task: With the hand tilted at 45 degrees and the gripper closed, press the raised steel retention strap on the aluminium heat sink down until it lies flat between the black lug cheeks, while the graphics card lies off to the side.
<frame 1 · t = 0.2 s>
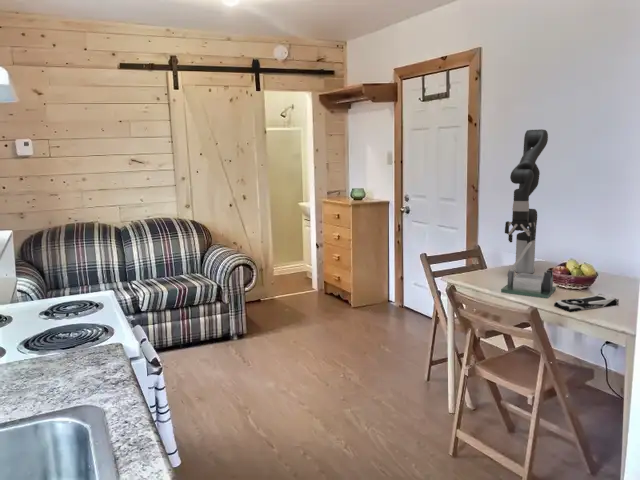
hand: (519, 242, 268), 18 cm above the table, tool pointing down, fingers open, 8 cm apart
graphics card: (584, 307, 224), on the table
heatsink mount: (528, 291, 247), on the table
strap: (520, 257, 246), point 15 cm above the table, hinge at 60.0°
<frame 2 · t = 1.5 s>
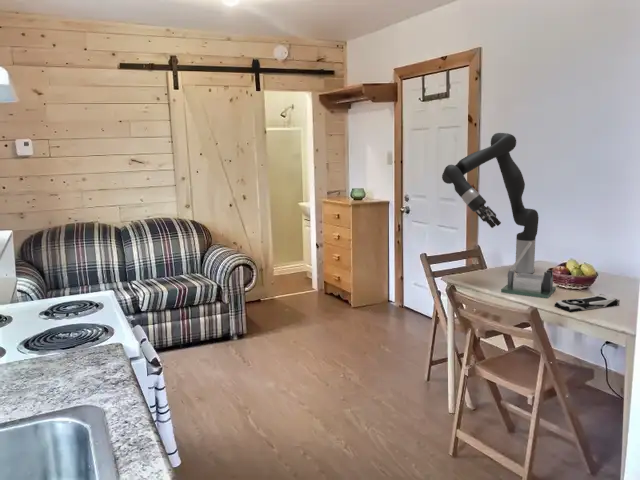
hand: (496, 225, 250), 29 cm above the table, tool tilted 45°, fingers open, 8 cm apart
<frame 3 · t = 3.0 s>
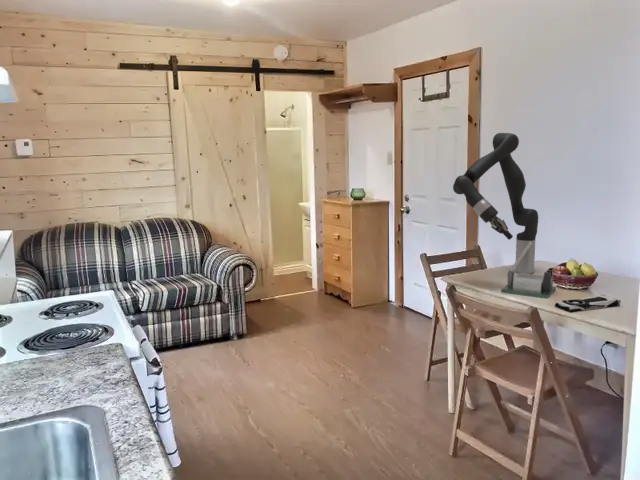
hand: (511, 238, 247), 24 cm above the table, tool tilted 45°, fingers closed
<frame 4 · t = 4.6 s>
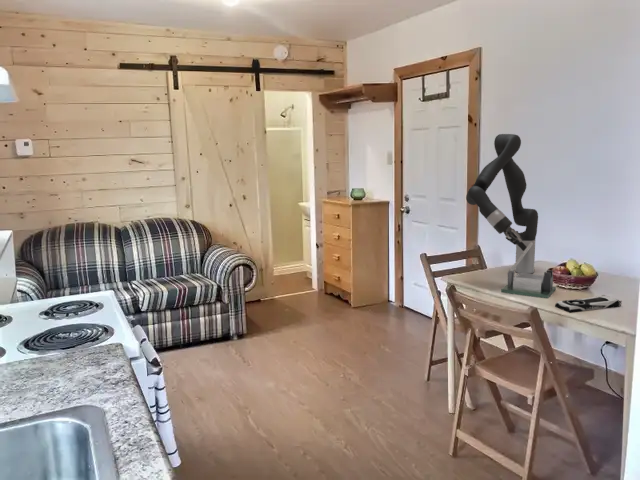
hand: (525, 249, 244), 19 cm above the table, tool tilted 45°, fingers closed
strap: (520, 258, 246), point 15 cm above the table, hinge at 58.2°, touching gripper
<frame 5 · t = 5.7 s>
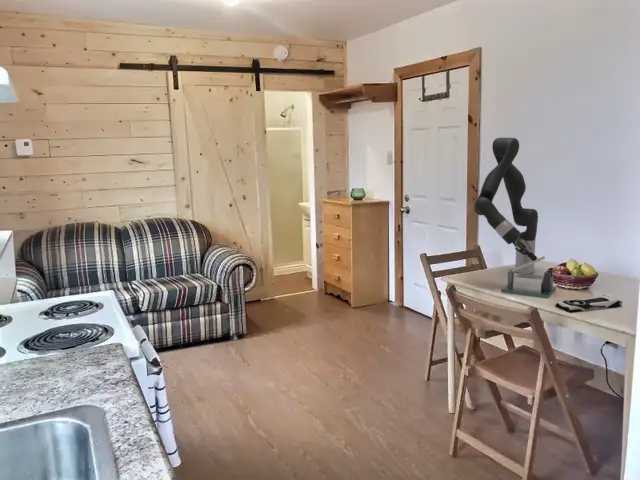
hand: (535, 259, 243), 15 cm above the table, tool tilted 45°, fingers closed
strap: (526, 264, 245), point 12 cm above the table, hinge at 28.7°, touching gripper
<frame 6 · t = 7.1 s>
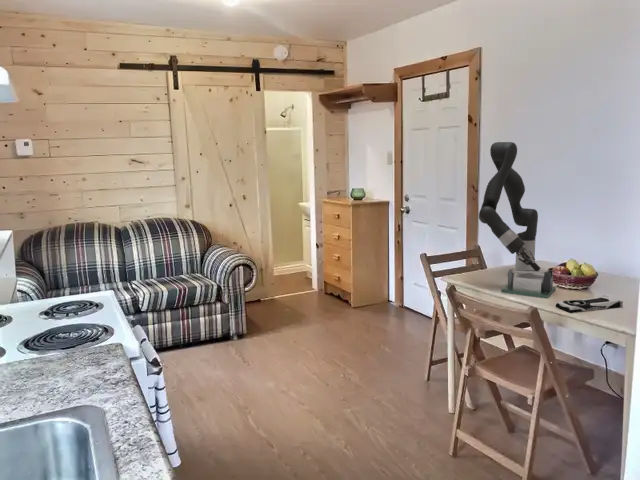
hand: (538, 270, 243), 10 cm above the table, tool tilted 45°, fingers closed
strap: (528, 271, 245), point 9 cm above the table, hinge at 4.5°, touching gripper
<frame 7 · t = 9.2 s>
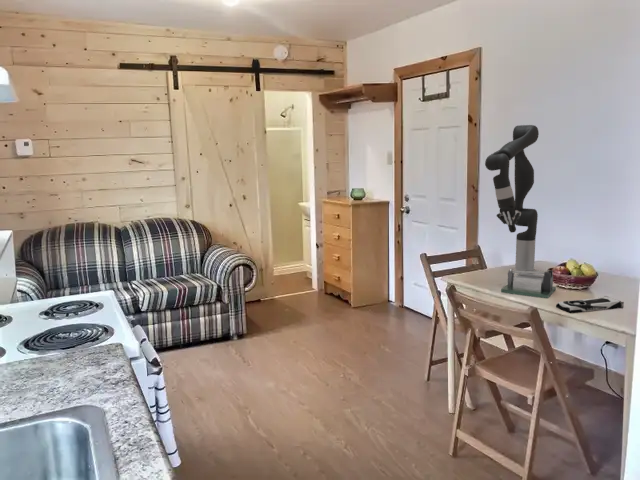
hand: (513, 232, 254), 25 cm above the table, tool pointing down, fingers closed
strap: (528, 271, 245), point 9 cm above the table, hinge at 4.3°
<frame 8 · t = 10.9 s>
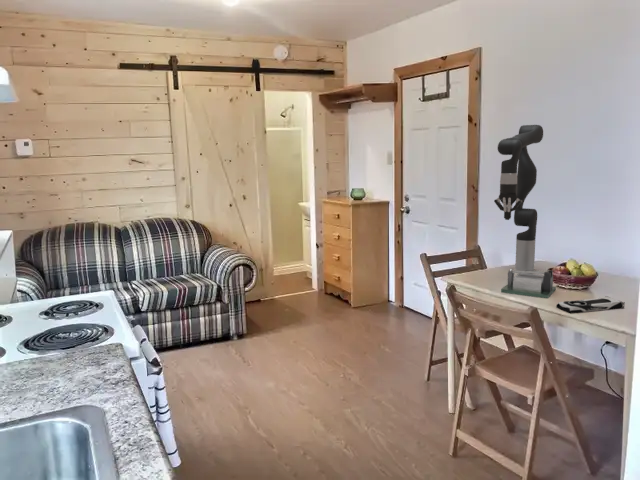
hand: (507, 219, 256), 31 cm above the table, tool pointing down, fingers closed
at the end: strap at +4° (first picture: +60°); graphics card moved 3.3 cm from its start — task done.
